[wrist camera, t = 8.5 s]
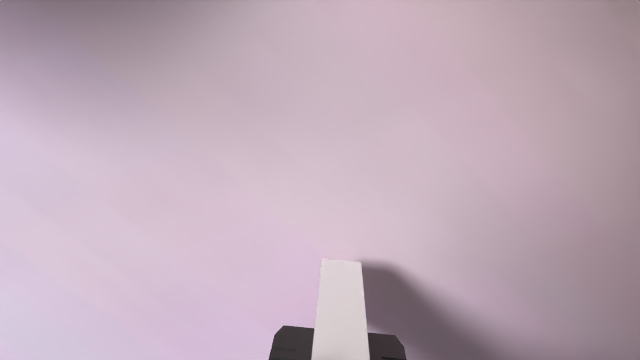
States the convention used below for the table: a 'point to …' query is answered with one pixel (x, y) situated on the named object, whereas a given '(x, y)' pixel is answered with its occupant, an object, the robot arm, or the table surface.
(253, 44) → the table surface
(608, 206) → the table surface
